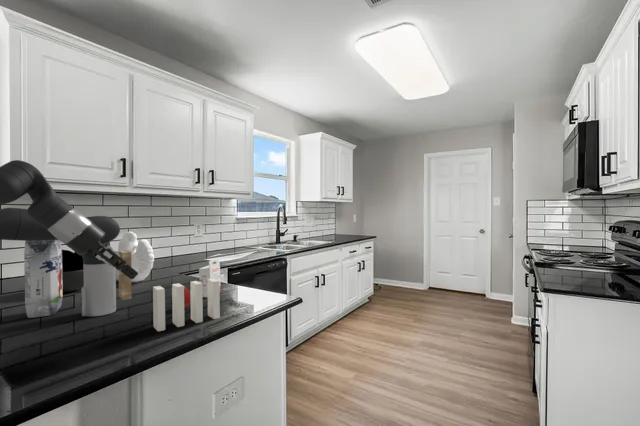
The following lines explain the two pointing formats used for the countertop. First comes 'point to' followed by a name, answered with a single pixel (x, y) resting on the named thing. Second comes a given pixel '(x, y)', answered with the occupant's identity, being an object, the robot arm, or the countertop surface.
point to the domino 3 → (196, 301)
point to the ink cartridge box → (209, 275)
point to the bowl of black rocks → (72, 271)
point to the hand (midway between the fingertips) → (132, 274)
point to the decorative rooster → (137, 255)
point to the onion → (186, 297)
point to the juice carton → (43, 277)
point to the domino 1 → (159, 308)
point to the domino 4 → (213, 298)
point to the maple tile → (125, 277)
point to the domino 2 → (178, 304)
